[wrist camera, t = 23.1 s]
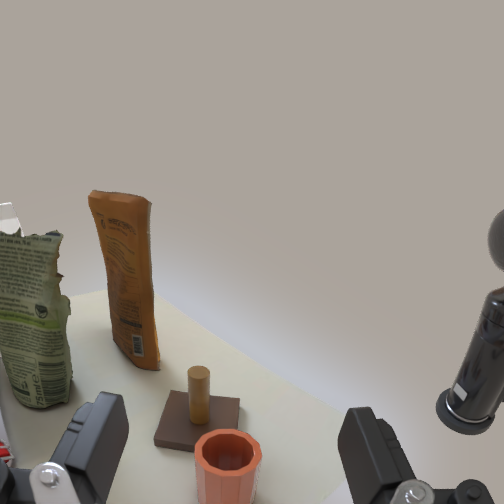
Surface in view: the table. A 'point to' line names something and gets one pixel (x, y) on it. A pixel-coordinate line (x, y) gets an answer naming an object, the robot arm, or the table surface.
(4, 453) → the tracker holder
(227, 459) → the faceted terracotta cup
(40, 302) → the pouch
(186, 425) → the ring stand
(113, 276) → the pancake mix bag
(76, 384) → the table surface
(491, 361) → the robot arm
